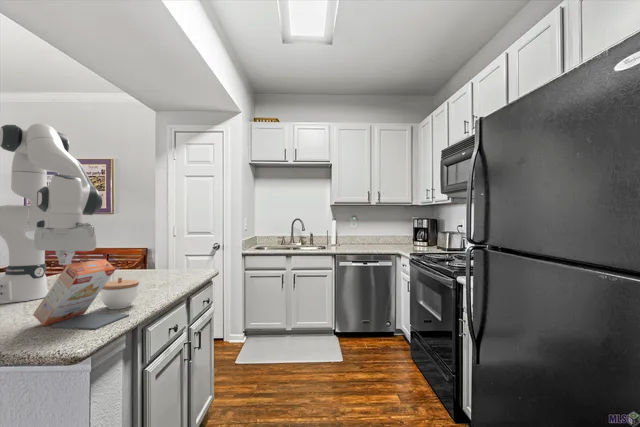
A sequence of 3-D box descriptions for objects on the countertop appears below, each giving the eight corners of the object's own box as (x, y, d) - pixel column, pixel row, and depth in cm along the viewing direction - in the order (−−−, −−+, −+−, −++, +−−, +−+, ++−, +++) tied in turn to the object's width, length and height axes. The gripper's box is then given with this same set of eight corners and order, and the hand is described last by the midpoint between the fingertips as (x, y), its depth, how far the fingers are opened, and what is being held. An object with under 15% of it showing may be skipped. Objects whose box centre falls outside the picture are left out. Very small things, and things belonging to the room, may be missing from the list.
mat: (51, 327, 98) (51, 325, 98) (90, 313, 111) (90, 312, 112) (95, 329, 96) (95, 327, 96) (129, 315, 110) (129, 314, 110)
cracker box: (43, 327, 98) (78, 275, 95) (31, 314, 99) (66, 263, 96) (85, 314, 111) (117, 268, 109) (74, 303, 112) (105, 257, 110)
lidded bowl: (90, 311, 115) (91, 280, 115) (114, 302, 128) (115, 274, 128) (124, 311, 115) (125, 281, 115) (145, 302, 127) (145, 275, 127)
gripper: (101, 222, 107) (100, 263, 107) (48, 222, 110) (47, 262, 110) (85, 222, 101) (84, 266, 101) (29, 222, 104) (28, 265, 103)
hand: (65, 264), depth 105 cm, fingers closed
